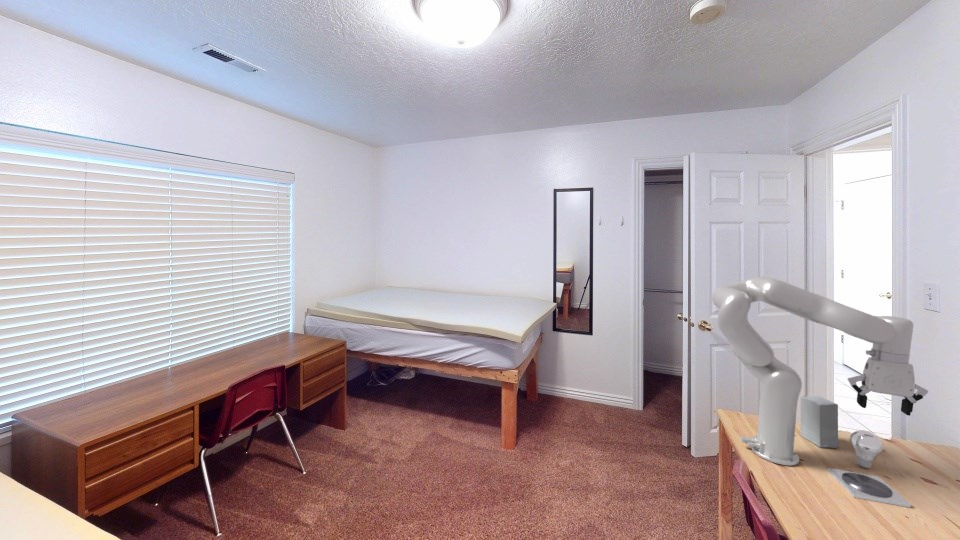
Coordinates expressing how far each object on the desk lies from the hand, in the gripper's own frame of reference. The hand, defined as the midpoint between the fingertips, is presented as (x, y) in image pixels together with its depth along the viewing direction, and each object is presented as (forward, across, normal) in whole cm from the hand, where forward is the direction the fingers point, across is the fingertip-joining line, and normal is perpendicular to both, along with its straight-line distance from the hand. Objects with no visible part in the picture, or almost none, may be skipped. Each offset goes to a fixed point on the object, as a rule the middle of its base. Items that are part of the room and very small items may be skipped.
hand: (883, 409), depth 109 cm
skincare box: (+20, -10, +12) cm, 26 cm away
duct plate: (+20, -7, -13) cm, 25 cm away
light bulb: (+20, -3, 0) cm, 20 cm away
